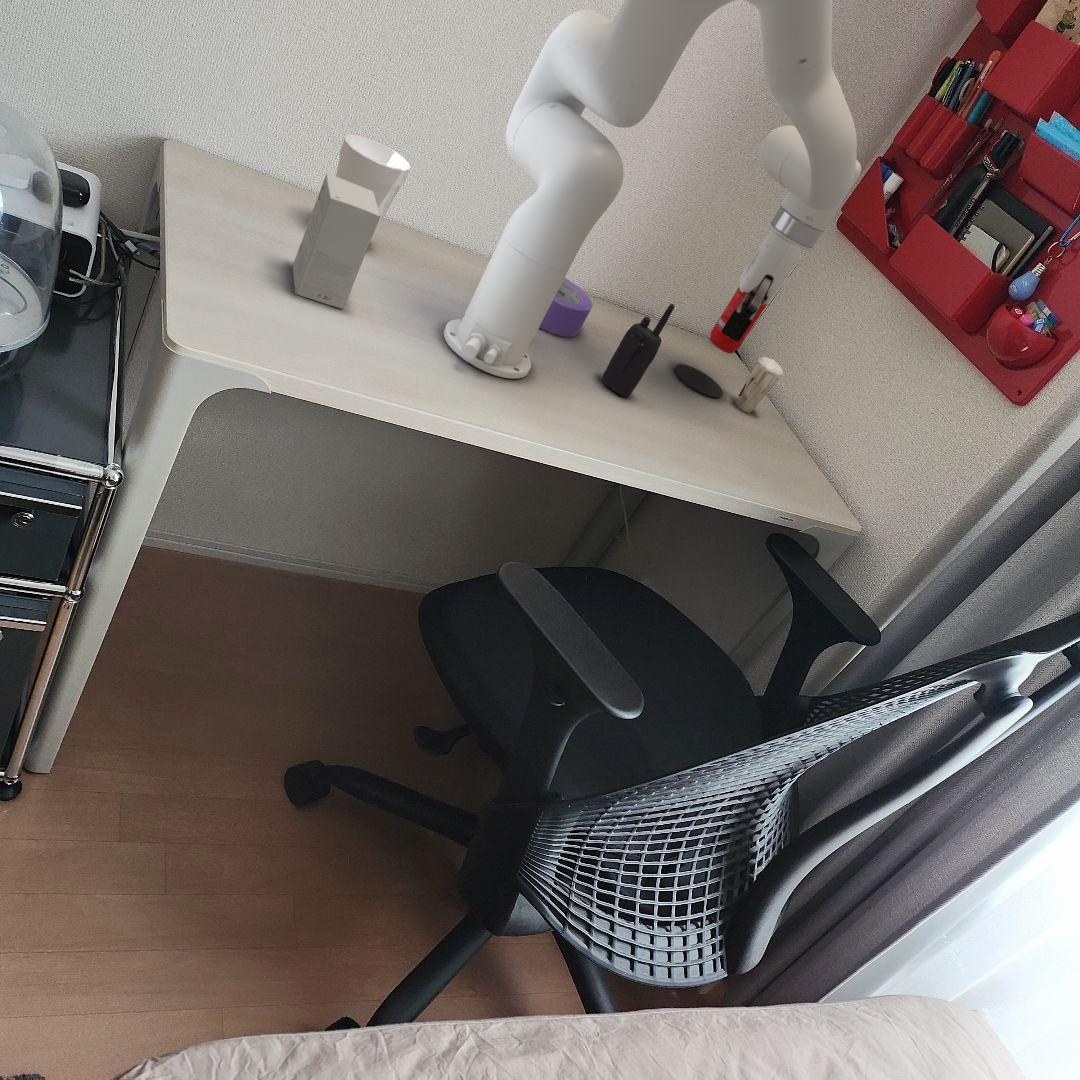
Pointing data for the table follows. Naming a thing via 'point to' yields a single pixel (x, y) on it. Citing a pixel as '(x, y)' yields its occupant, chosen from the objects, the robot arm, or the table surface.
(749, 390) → the milkshake
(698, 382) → the coaster
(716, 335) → the beverage can
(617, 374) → the two-way radio
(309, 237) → the small box
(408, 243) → the table surface
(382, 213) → the foam cup
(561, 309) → the tape roll
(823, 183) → the robot arm
